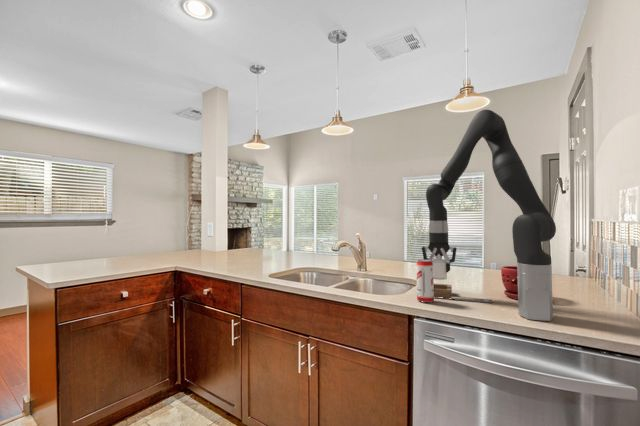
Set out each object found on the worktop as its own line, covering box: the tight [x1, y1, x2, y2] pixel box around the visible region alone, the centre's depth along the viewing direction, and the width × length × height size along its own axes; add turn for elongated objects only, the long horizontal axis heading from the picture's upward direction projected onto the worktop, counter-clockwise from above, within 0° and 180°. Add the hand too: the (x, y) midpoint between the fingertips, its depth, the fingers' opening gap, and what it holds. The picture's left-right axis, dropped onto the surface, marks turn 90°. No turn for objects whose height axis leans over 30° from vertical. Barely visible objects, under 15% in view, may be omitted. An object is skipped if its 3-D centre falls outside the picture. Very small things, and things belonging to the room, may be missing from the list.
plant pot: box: [500, 265, 518, 300], centre depth 125 cm, size 13×13×12 cm
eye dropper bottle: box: [432, 254, 448, 281], centre depth 131 cm, size 4×6×12 cm
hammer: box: [434, 283, 494, 304], centre depth 127 cm, size 12×24×4 cm, turn 66°
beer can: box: [415, 258, 435, 303], centre depth 122 cm, size 6×6×16 cm
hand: (439, 271), depth 131 cm, fingers closed on eye dropper bottle, 5 cm apart
